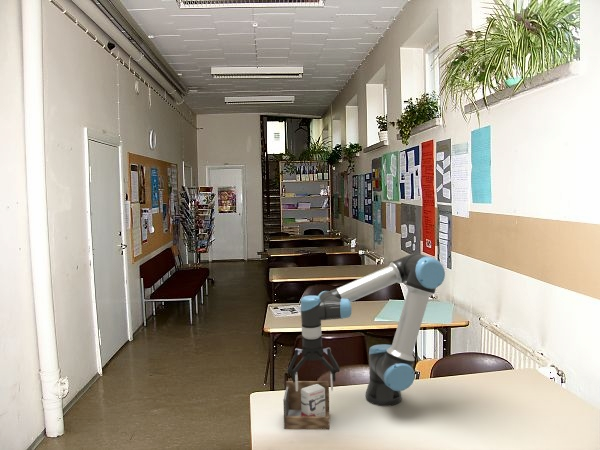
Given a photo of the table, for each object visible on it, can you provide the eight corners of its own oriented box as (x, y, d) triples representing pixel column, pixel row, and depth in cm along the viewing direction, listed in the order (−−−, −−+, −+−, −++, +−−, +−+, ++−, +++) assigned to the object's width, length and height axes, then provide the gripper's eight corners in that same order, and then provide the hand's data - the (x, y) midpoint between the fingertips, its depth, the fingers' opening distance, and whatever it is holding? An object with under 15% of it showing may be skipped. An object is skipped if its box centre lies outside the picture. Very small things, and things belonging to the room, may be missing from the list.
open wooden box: (329, 413, 204) (328, 381, 203) (329, 429, 191) (328, 394, 190) (287, 413, 205) (286, 381, 204) (284, 428, 192) (283, 394, 191)
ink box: (308, 422, 194) (307, 392, 193) (300, 417, 198) (300, 388, 197) (326, 416, 198) (325, 387, 197) (318, 412, 202) (317, 383, 202)
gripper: (344, 332, 198) (346, 385, 200) (280, 334, 200) (283, 386, 202) (344, 338, 191) (346, 393, 192) (278, 340, 192) (281, 394, 194)
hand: (314, 389), depth 197 cm, fingers open, 13 cm apart
